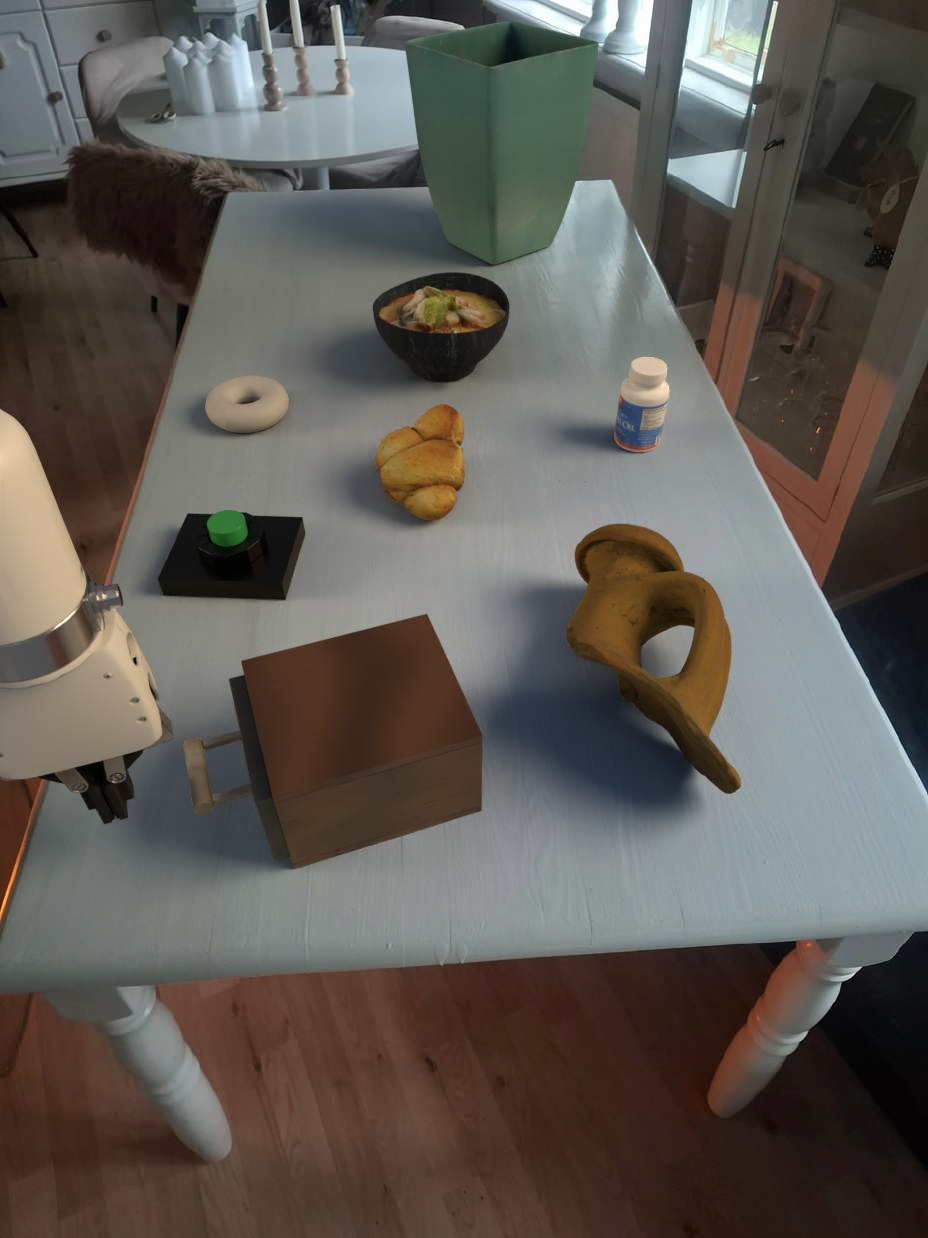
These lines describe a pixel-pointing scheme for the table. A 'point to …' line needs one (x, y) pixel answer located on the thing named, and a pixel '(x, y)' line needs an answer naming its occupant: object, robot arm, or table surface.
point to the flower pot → (501, 131)
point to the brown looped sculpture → (642, 608)
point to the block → (234, 560)
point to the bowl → (442, 323)
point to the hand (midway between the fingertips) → (115, 804)
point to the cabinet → (364, 738)
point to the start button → (227, 528)
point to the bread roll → (424, 463)
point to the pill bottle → (642, 405)
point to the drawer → (255, 765)
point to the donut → (236, 415)
